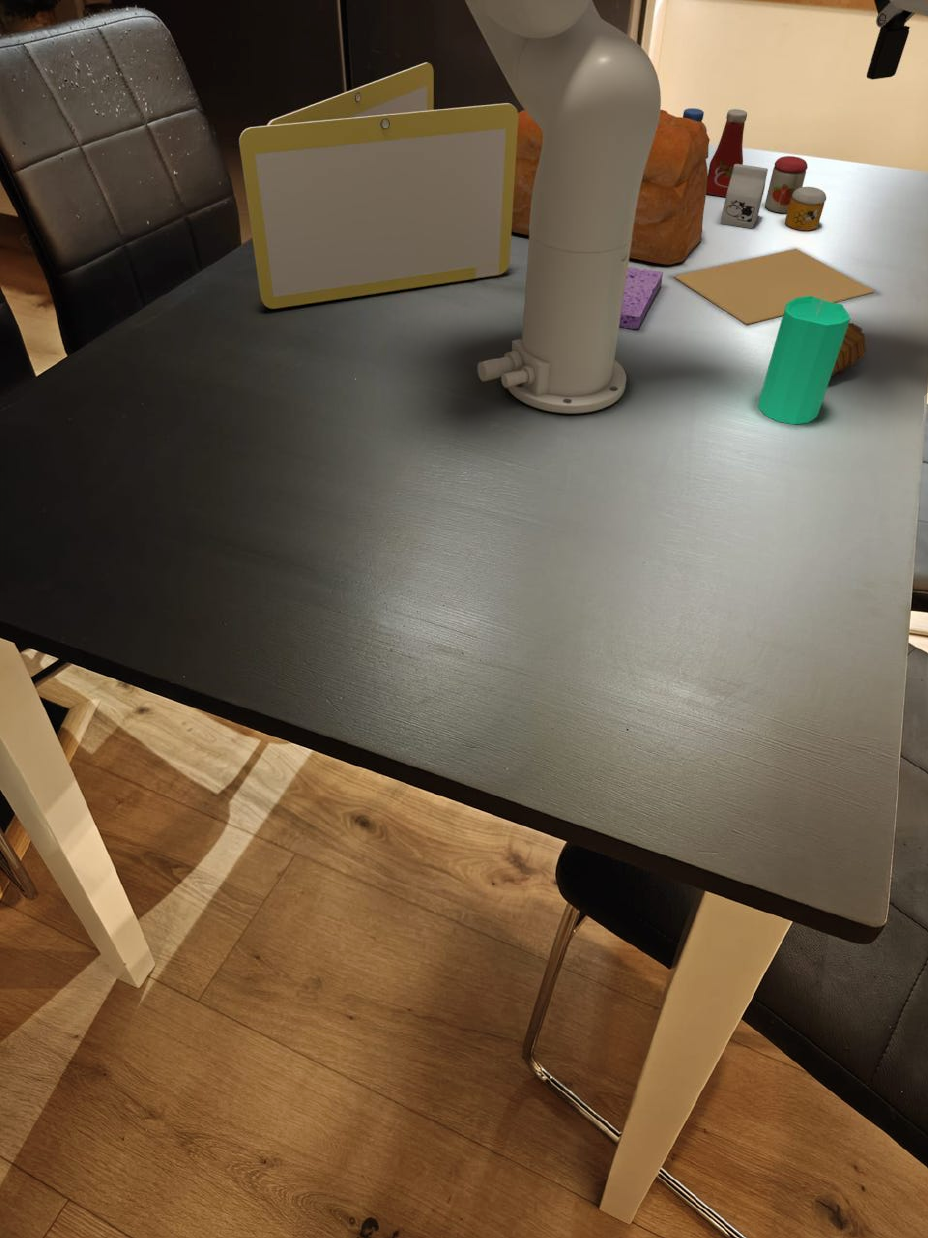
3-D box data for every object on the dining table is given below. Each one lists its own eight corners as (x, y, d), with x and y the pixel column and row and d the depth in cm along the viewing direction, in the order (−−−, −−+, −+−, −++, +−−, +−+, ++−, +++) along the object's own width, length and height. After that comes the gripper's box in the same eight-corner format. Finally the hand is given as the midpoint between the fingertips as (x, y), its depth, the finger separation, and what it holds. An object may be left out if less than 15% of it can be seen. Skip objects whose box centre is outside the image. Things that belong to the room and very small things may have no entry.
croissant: (831, 400, 93) (847, 355, 89) (771, 378, 96) (783, 334, 92) (880, 351, 100) (896, 308, 97) (822, 332, 103) (836, 290, 100)
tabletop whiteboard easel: (410, 211, 127) (407, 51, 113) (547, 247, 119) (561, 79, 105) (244, 307, 105) (214, 123, 91) (398, 358, 98) (391, 165, 84)
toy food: (623, 207, 130) (636, 114, 121) (645, 178, 138) (659, 90, 130) (813, 239, 123) (841, 143, 114) (825, 206, 131) (851, 115, 122)
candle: (808, 430, 89) (846, 315, 80) (749, 412, 91) (781, 298, 83) (825, 403, 92) (864, 290, 84) (768, 386, 95) (800, 274, 86)
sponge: (661, 286, 111) (663, 271, 110) (637, 331, 103) (640, 315, 102) (606, 276, 113) (607, 261, 112) (578, 319, 105) (580, 304, 103)
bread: (675, 272, 114) (699, 143, 104) (486, 230, 123) (490, 107, 112) (707, 234, 123) (732, 111, 112) (529, 197, 132) (536, 80, 121)
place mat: (746, 325, 104) (747, 323, 104) (673, 277, 113) (674, 275, 113) (873, 292, 111) (874, 290, 111) (795, 249, 120) (796, 248, 120)
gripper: (886, -168, 74) (821, 71, 86) (1076, -146, 63) (971, 123, 75) (949, -168, 76) (877, 63, 88) (1141, -147, 66) (1030, 113, 78)
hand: (920, 91), depth 82 cm, fingers open, 9 cm apart
